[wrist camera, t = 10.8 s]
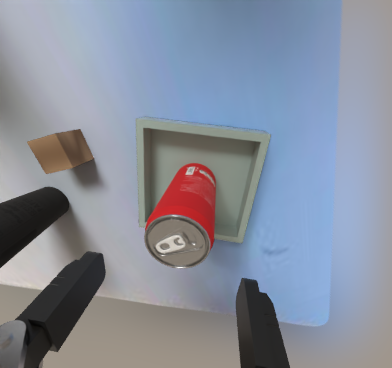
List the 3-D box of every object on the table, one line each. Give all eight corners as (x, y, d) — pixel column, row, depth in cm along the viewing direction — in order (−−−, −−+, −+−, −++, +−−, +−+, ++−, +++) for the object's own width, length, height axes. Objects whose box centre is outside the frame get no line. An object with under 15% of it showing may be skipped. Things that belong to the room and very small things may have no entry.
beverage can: (222, 188, 24) (226, 260, 13) (188, 202, 25) (164, 278, 14) (205, 153, 22) (191, 200, 11) (169, 170, 24) (126, 227, 13)
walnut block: (55, 136, 24) (26, 141, 21) (80, 129, 23) (55, 133, 20) (70, 164, 26) (45, 174, 22) (94, 158, 25) (73, 167, 21)
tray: (146, 116, 22) (135, 118, 19) (264, 130, 21) (271, 134, 18) (147, 214, 28) (139, 226, 25) (239, 229, 27) (242, 243, 24)
